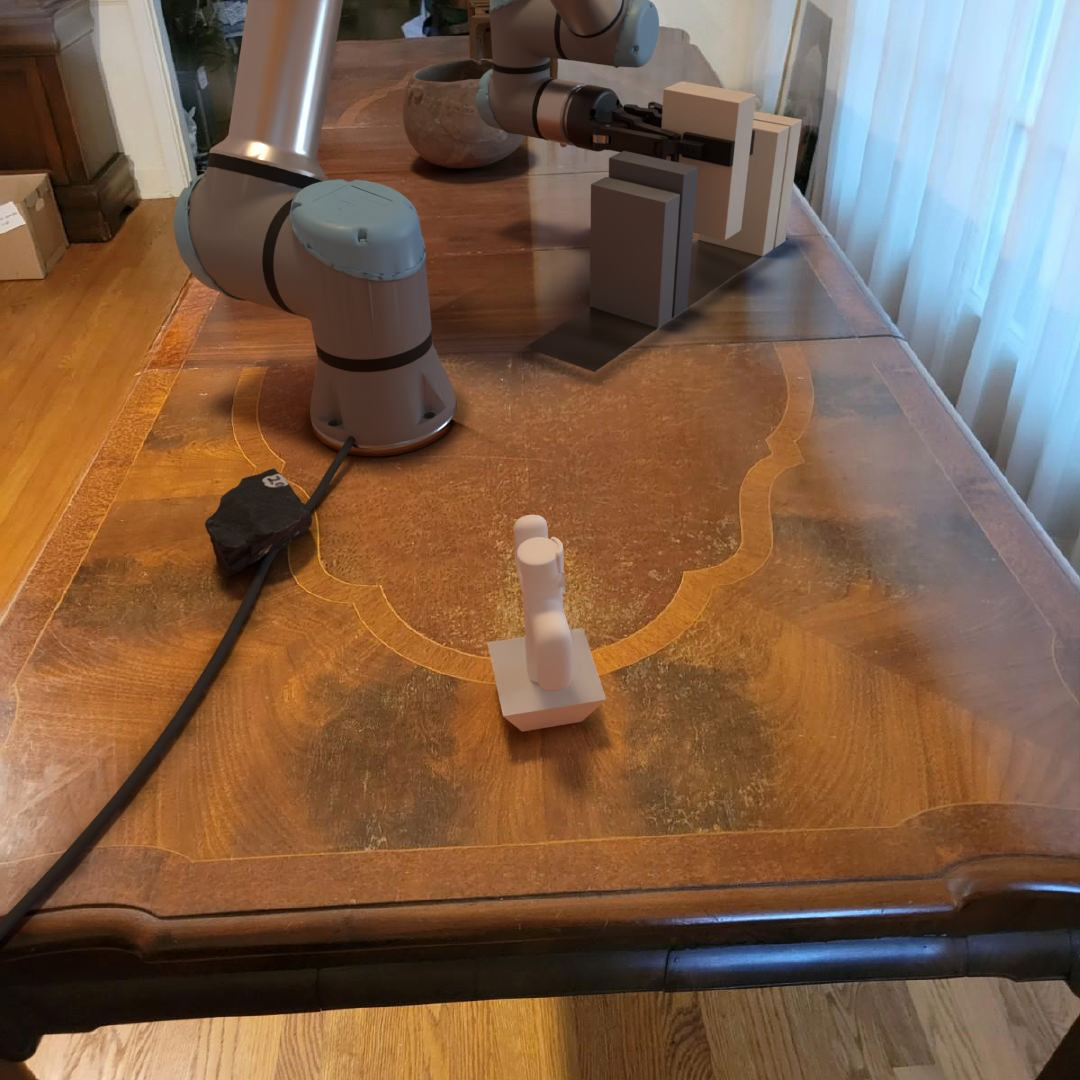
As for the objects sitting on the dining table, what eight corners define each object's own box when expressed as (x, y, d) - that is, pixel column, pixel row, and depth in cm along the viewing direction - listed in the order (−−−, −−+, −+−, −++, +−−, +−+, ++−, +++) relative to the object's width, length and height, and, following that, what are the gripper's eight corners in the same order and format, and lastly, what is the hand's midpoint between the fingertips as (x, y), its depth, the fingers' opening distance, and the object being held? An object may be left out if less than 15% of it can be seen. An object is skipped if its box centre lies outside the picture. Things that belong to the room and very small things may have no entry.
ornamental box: (471, 82, 217) (454, -11, 206) (550, 67, 216) (537, -28, 205) (477, 124, 189) (457, 19, 178) (567, 107, 189) (553, 1, 177)
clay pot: (404, 186, 158) (393, 87, 149) (412, 146, 175) (403, 54, 165) (534, 182, 159) (531, 83, 149) (530, 142, 175) (528, 50, 165)
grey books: (658, 328, 115) (666, 183, 105) (589, 306, 120) (590, 166, 110) (687, 308, 119) (698, 166, 109) (619, 288, 124) (623, 150, 114)
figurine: (508, 763, 68) (496, 604, 59) (487, 666, 75) (475, 511, 66) (609, 745, 69) (614, 587, 60) (579, 651, 76) (580, 497, 67)
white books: (762, 256, 131) (778, 132, 121) (697, 240, 136) (707, 119, 126) (785, 241, 135) (802, 119, 125) (721, 225, 140) (733, 107, 130)
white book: (724, 240, 120) (739, 102, 110) (656, 222, 125) (663, 88, 114) (741, 230, 122) (756, 94, 112) (672, 212, 127) (681, 80, 117)
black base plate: (594, 381, 109) (594, 372, 108) (524, 356, 114) (524, 346, 113) (788, 246, 136) (789, 238, 135) (725, 230, 141) (726, 222, 140)
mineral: (189, 534, 89) (173, 482, 85) (281, 497, 93) (269, 446, 89) (234, 594, 82) (219, 540, 79) (331, 552, 87) (321, 499, 83)
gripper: (618, 129, 133) (773, 161, 122) (540, 164, 123) (701, 202, 112) (619, 69, 129) (781, 97, 117) (539, 101, 118) (707, 134, 107)
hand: (742, 148), depth 114 cm, fingers closed on white book, 4 cm apart
